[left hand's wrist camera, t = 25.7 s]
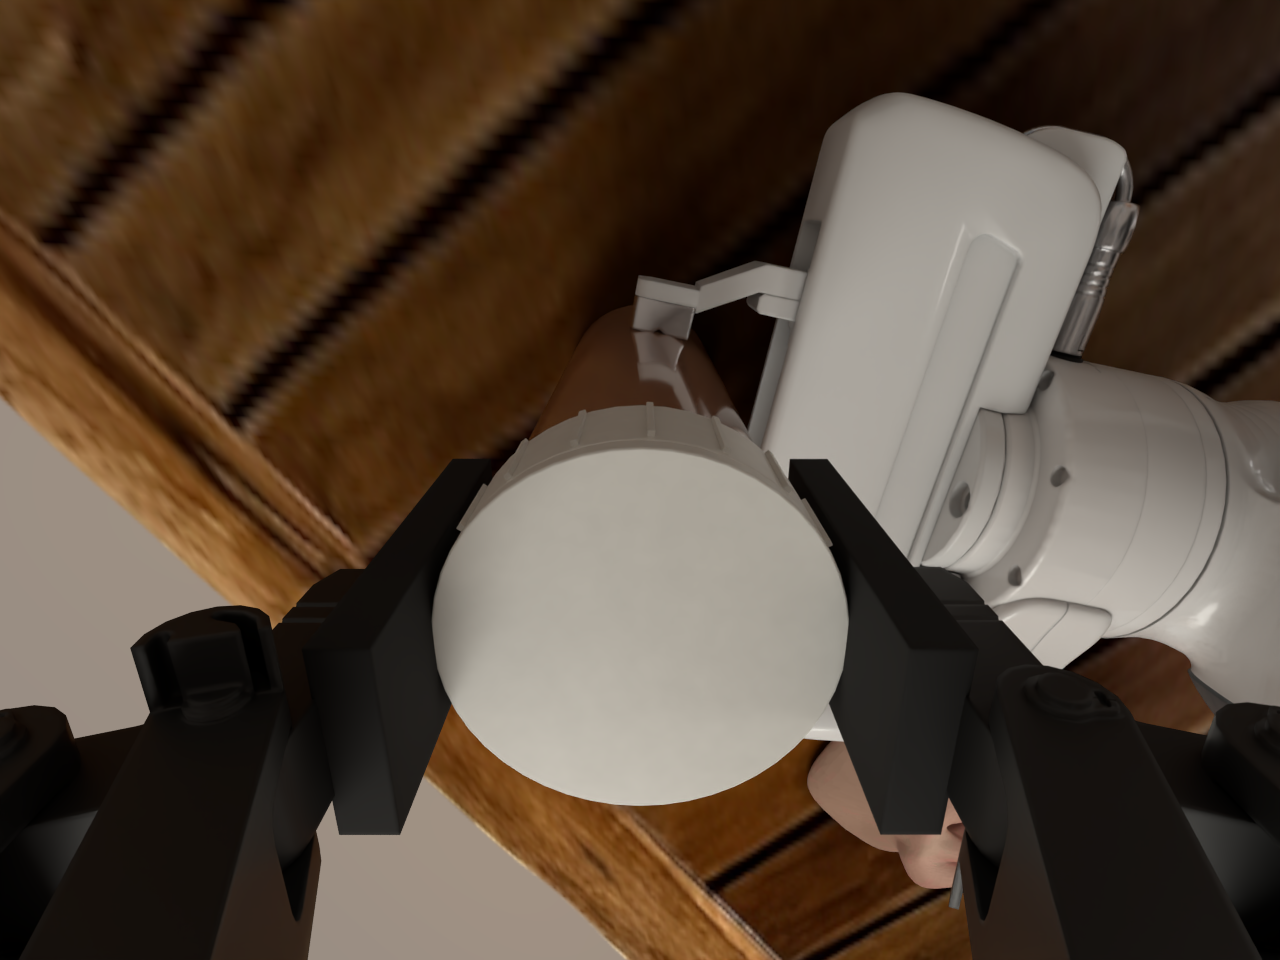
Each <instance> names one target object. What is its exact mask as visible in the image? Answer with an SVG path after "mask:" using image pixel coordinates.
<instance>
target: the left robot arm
mask: <svg viewBox="0 0 1280 960" xmlns="http://www.w3.org/2000/svg"><path fill="white" fill-rule="evenodd" d="M788 480H789V481H790V483H791V485H792V486H793V488H794V489H795V491H796V493H797V494H798V496H799V498H800V499H801V500H802V499H804V498H805V499H806V500H807V502H808V504H809V505H810V507H811V509H812V510H813V512H814V514H815V515H816V517H817V519H818V520H819V522H820V524H821V525H822V527H823V529H824V530H825V532H826V533H827V535H828V537H829V538H830V540H831V542H832V546H830V547H829V549H830V551H831V553H832V555H833V557H834V560H835V562H836V564H837V567H838V569H839V571H840V574H841V577H842V581H843V584H844V588H845V592H846V596H847V603H848V613H849V625H848V633H847V642H846V650H845V658H844V665H843V671H842V674H841V677H840V679H839V682H838V685H837V687H836V690H835V692H834V694H833V696H832V698H831V700H830V702H829V705H830V708H831V710H832V713H833V716H834V718H835V721H836V723H837V726H838V728H839V731H840V733H841V736H842V738H843V741H844V744H845V746H846V749H847V751H848V754H849V756H850V759H851V761H852V764H853V766H854V769H855V771H856V774H857V777H858V779H859V782H860V784H861V787H862V789H863V792H864V794H865V797H866V799H867V802H868V805H869V807H870V810H871V812H872V815H873V817H874V820H875V822H876V825H877V827H878V830H879V833H880V835H941V833H942V828H943V823H944V818H945V813H946V808H947V803H948V798H949V799H950V801H951V803H952V805H953V807H954V808H955V810H956V812H957V814H958V816H959V818H960V820H961V821H962V823H963V825H964V827H965V828H964V833H963V838H962V842H961V847H960V851H959V856H958V860H957V865H956V870H955V874H954V879H953V883H952V888H951V893H950V901H949V907H952V908H956V909H959V906H960V901H961V897H962V893H964V900H965V908H966V915H967V922H968V929H969V936H970V943H971V951H972V958H973V960H1280V707H1279V706H1274V705H1273V706H1271V705H1264V704H1257V703H1250V702H1244V703H1233V704H1226V705H1225V706H1224V707H1222V708H1221V709H1219V710H1218V711H1216V713H1215V716H1214V719H1213V721H1212V724H1211V727H1210V730H1209V732H1208V735H1207V736H1206V735H1201V734H1196V733H1191V732H1186V731H1181V730H1176V729H1171V728H1166V727H1161V726H1156V725H1151V724H1146V723H1142V722H1138V721H1135V720H1134V718H1133V716H1132V714H1131V712H1130V711H1129V710H1128V709H1127V707H1126V706H1125V705H1124V704H1123V703H1122V701H1121V700H1120V699H1119V698H1118V697H1117V696H1116V695H1114V694H1113V693H1112V692H1110V691H1109V690H1107V689H1106V688H1104V687H1103V686H1101V685H1100V684H1098V683H1097V682H1094V681H1092V680H1090V679H1088V678H1085V677H1083V676H1081V675H1079V674H1076V673H1074V672H1071V671H1067V670H1063V669H1059V668H1055V667H1051V666H1044V665H1042V663H1041V662H1040V661H1039V660H1038V659H1037V658H1036V657H1035V656H1034V655H1033V654H1032V652H1031V651H1030V650H1029V649H1028V648H1027V647H1026V646H1025V645H1024V644H1023V643H1022V642H1021V640H1020V639H1019V638H1018V637H1017V636H1016V635H1015V634H1014V633H1013V632H1012V631H1011V629H1010V628H1009V627H1008V626H1007V625H1006V624H1005V623H1004V622H1003V621H1002V620H999V619H998V615H997V614H996V613H995V612H994V611H993V610H992V609H991V608H990V606H989V605H985V603H984V600H983V599H982V598H981V597H980V596H979V594H978V593H977V592H976V591H975V590H974V589H973V588H972V587H971V586H970V585H969V583H968V582H966V581H964V580H962V579H961V578H959V577H957V576H955V575H954V574H952V573H950V572H949V571H947V570H945V569H943V568H942V567H913V566H912V564H911V563H910V562H909V561H908V559H907V558H906V557H905V556H904V554H903V553H902V552H901V551H900V549H899V548H898V547H897V546H896V544H895V543H894V542H893V541H892V539H891V538H890V537H889V536H888V534H887V533H886V532H885V531H884V529H883V528H882V527H881V526H880V524H879V523H878V522H877V520H876V519H875V518H874V517H873V515H872V514H871V513H870V512H869V510H868V509H867V508H866V507H865V505H864V504H863V503H862V502H861V500H860V499H859V498H858V497H857V495H856V494H855V493H854V492H853V490H852V489H851V488H850V487H849V485H848V484H847V483H846V482H845V480H844V479H843V478H842V477H841V475H840V474H839V473H838V472H837V470H836V469H835V468H834V467H833V465H832V464H831V463H830V461H829V460H828V459H790V461H789V474H788ZM491 481H492V469H491V459H452V461H451V462H450V463H449V464H448V466H447V467H446V468H445V469H444V471H443V472H442V473H441V474H440V476H439V477H438V478H437V480H436V481H435V482H434V483H433V485H432V486H431V487H430V488H429V490H428V491H427V492H426V493H425V495H424V496H423V497H422V498H421V500H420V501H419V502H418V503H417V505H416V506H415V507H414V508H413V510H412V511H411V512H410V513H409V515H408V516H407V517H406V518H405V520H404V521H403V522H402V523H401V525H400V526H399V527H398V528H397V530H396V531H395V532H394V534H393V535H392V536H391V537H390V539H389V540H388V541H387V542H386V544H385V545H384V546H383V547H382V549H381V550H380V551H379V552H378V554H377V555H376V556H375V557H374V559H373V560H372V561H371V562H370V564H369V565H368V566H367V567H366V569H340V570H338V571H336V572H334V573H333V574H331V575H329V576H328V577H326V578H324V579H322V580H321V581H319V582H317V583H316V584H314V585H313V586H312V587H311V588H310V589H309V590H308V591H307V592H306V593H305V594H304V596H303V597H302V598H301V599H300V600H299V601H298V602H297V603H296V604H297V605H296V607H293V608H292V609H291V610H290V611H289V612H288V613H287V614H286V615H285V617H284V618H283V619H282V620H283V621H282V623H278V624H277V625H276V627H275V628H274V629H273V630H272V627H271V623H270V618H269V616H268V615H267V614H265V613H264V612H263V611H261V610H260V609H258V608H253V607H247V606H242V605H238V606H220V607H213V608H209V609H204V610H200V611H195V612H191V613H188V614H185V615H183V616H180V617H177V618H175V619H172V620H169V621H167V622H165V623H163V624H161V625H159V626H158V627H156V628H154V629H153V630H151V631H149V632H147V633H146V634H144V635H143V636H142V637H141V638H140V639H139V640H138V641H137V642H136V643H135V644H134V645H133V646H132V647H131V652H132V655H133V658H134V662H135V665H136V668H137V671H138V674H139V678H140V681H141V684H142V688H143V691H144V694H145V697H146V701H147V704H148V707H149V710H150V714H149V716H148V717H147V719H146V721H145V723H144V724H143V725H140V726H135V727H130V728H126V729H120V730H115V731H111V732H105V733H100V734H95V735H90V736H85V737H80V738H75V739H74V737H73V734H72V731H71V728H70V726H69V723H68V720H67V717H66V715H65V714H63V713H62V712H61V711H59V710H58V709H56V708H55V707H46V706H36V705H33V706H26V707H19V708H12V709H4V710H0V960H308V952H309V945H310V938H311V931H312V923H313V916H314V909H315V902H316V895H317V888H318V881H319V873H320V866H321V855H320V848H319V842H318V838H317V833H316V830H317V828H318V826H319V824H320V822H321V820H322V818H323V816H324V815H325V813H326V811H327V809H328V807H329V805H330V803H331V801H333V806H334V811H335V816H336V821H337V826H338V831H339V835H400V833H401V831H402V828H403V826H404V823H405V821H406V818H407V816H408V813H409V811H410V808H411V805H412V803H413V800H414V798H415V795H416V793H417V790H418V788H419V785H420V783H421V780H422V777H423V775H424V772H425V770H426V767H427V765H428V762H429V760H430V757H431V755H432V752H433V749H434V747H435V744H436V742H437V739H438V737H439V734H440V732H441V729H442V727H443V724H444V721H445V719H446V716H447V714H448V711H449V709H450V706H451V704H452V702H451V701H450V699H449V697H448V695H447V693H446V691H445V689H444V686H443V683H442V680H441V678H440V675H439V672H438V669H437V662H436V655H435V647H434V639H433V630H432V609H433V600H434V594H435V590H436V587H437V583H438V580H439V576H440V572H441V570H442V568H443V566H444V563H445V561H446V559H447V557H448V555H449V552H450V550H451V548H452V547H453V545H454V543H455V541H456V540H457V538H458V536H459V535H460V533H461V531H459V530H458V529H456V528H457V526H458V525H459V523H460V521H461V520H462V518H463V516H464V515H465V513H466V511H467V510H468V508H469V507H470V505H471V503H472V502H473V500H474V498H475V497H476V495H477V493H478V492H479V490H480V488H481V487H482V485H483V484H485V485H487V486H488V485H489V484H490V482H491Z"/></svg>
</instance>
